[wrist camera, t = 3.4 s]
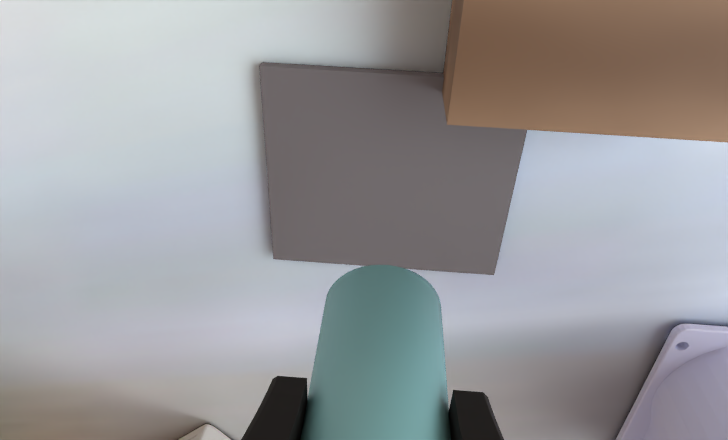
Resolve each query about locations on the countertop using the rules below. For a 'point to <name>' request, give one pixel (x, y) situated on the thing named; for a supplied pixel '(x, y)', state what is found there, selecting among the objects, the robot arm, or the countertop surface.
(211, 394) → the countertop surface
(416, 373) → the peg
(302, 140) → the mat
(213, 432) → the skincare box
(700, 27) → the hole block
